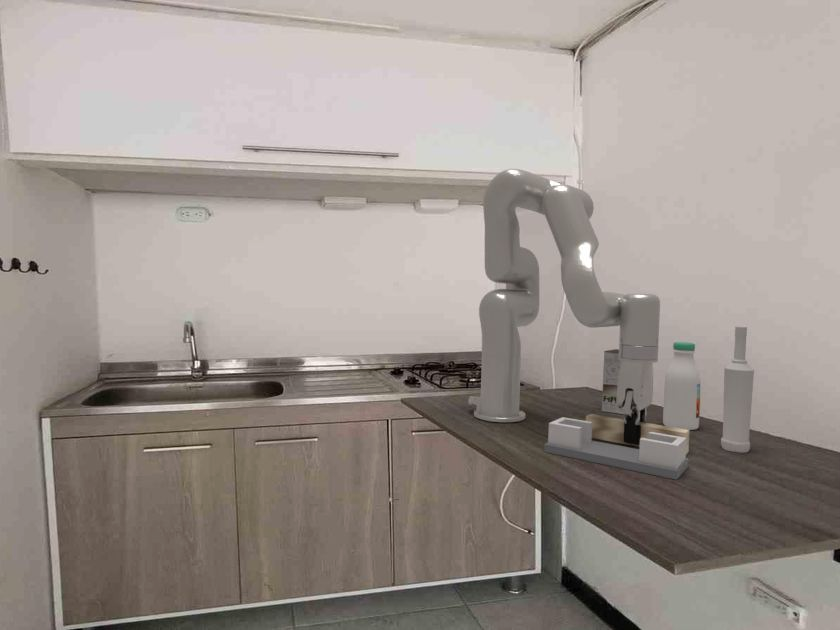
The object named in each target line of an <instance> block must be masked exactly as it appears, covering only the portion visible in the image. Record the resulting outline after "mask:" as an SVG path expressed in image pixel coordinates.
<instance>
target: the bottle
mask: <svg viewBox="0 0 840 630" xmlns="http://www.w3.org/2000/svg"><path fill="white" fill-rule="evenodd" d="M734 328H735V329H734V350H733V351H734V352H733V353H734V354H733V359H731V362H730V363H728V364H727V365H726V366H724V369H723V370H724V371H723V373H724V374H723V375H724V377H723V378H724V380H723V408H722V409H723V410H722V411H723V416H722V418H723V419H722V437H721V438H720V445H721V448H722V449H723V450H725V451H728V452H733V453H740V454H741V453H742V454H744V453H748V452H749V451H750V449H751V442H750V431H751V429H750V428H751V419H752V418H751V415H752V403H753V389H754V388H753V387H754V375H755V369H753V367H751V366H750V365H749V364H748V361H747V360H746V351H747V349H746V348H747V346H746V345H747V334H748V327H746V326H734Z"/></svg>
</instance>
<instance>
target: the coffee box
mask: <svg viewBox="0 0 840 630" xmlns="http://www.w3.org/2000/svg"><path fill="white" fill-rule="evenodd" d="M603 352H604V355H603V370H602V371H603V373H602V374H603V377H602V396H601V397H602V399H601V401H602V402H601V412H606V413H611V414H619V415H624V414H623V411H624V407H622V408H618V407H617V406H616V398H617V387H618V377H619V369H620V364H621V361H622V360H619V348H618V349H616V348H614V349H609V350H604V351H603Z"/></svg>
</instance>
